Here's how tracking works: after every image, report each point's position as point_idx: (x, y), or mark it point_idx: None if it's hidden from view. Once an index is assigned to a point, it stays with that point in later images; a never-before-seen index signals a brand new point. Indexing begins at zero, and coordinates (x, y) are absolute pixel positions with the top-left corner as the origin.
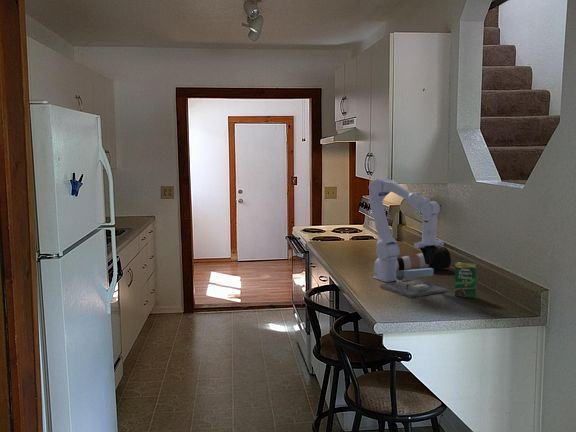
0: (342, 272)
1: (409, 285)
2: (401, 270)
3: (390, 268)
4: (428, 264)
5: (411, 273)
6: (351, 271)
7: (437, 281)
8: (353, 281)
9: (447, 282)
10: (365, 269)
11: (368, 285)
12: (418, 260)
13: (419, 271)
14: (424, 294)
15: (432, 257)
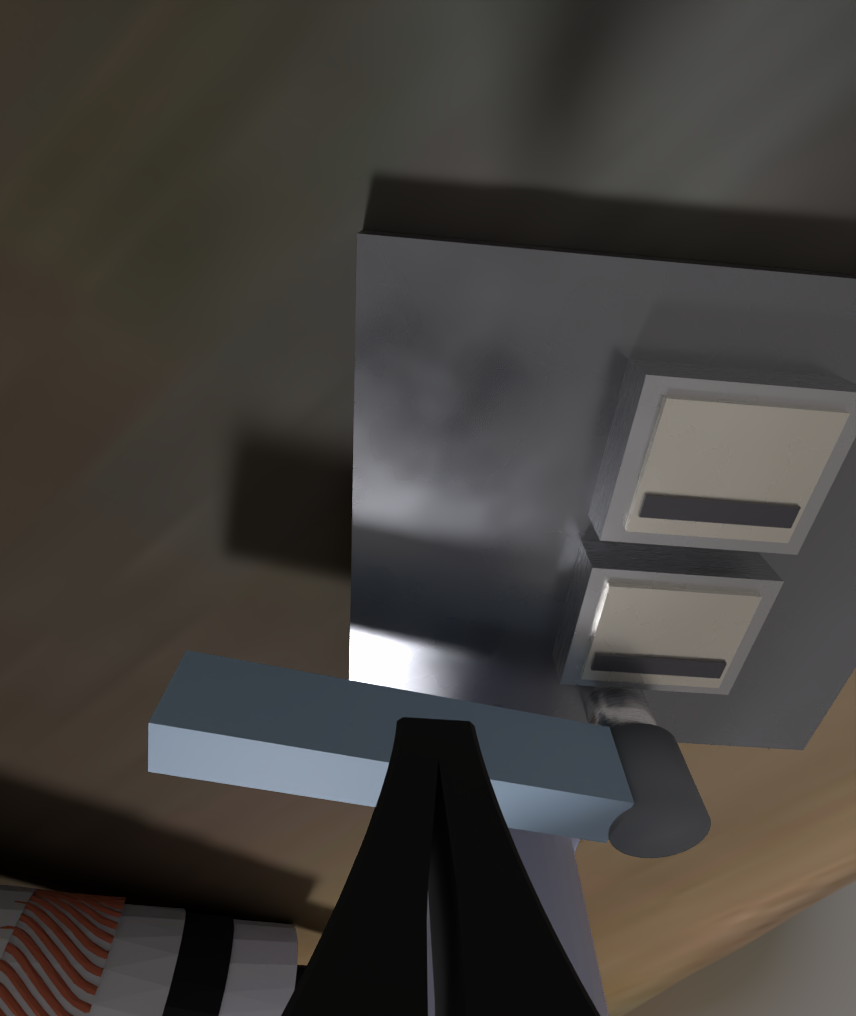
0: None
1: (803, 533)
2: (602, 841)
3: (557, 928)
4: (473, 730)
5: (516, 752)
6: None
7: (116, 608)
8: (751, 892)
9: (27, 529)
10: None
11: (789, 797)
12: (8, 981)
13: None
14: (804, 272)
15: (388, 875)
